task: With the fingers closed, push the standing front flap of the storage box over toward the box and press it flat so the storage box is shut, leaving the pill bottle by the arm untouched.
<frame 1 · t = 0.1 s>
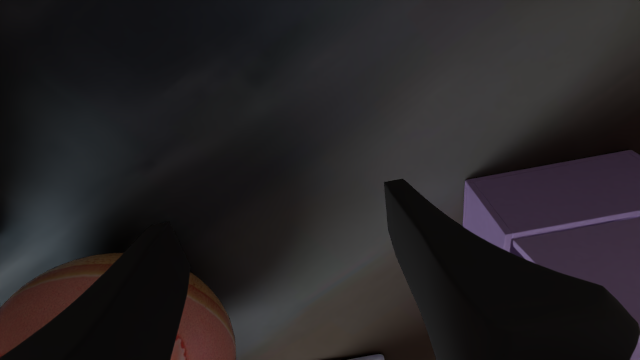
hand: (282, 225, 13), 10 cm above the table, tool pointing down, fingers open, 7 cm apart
vase: (145, 286, 28), on the table, touching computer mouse
storage box: (533, 243, 29), on the table
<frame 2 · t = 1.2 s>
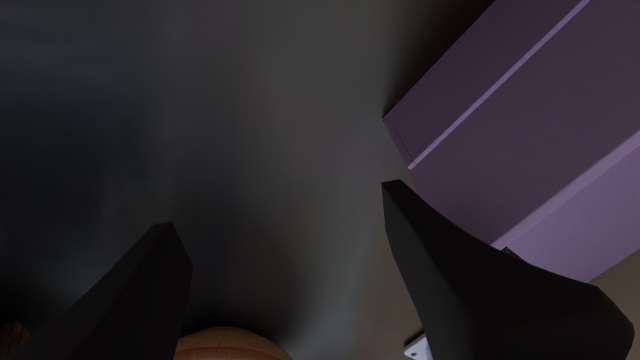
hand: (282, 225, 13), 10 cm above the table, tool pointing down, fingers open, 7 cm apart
flap: (553, 107, 13), point 9 cm above the table, hinge at 97.6°, touching gripper
vase: (226, 348, 33), on the table, touching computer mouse
storage box: (525, 118, 23), on the table
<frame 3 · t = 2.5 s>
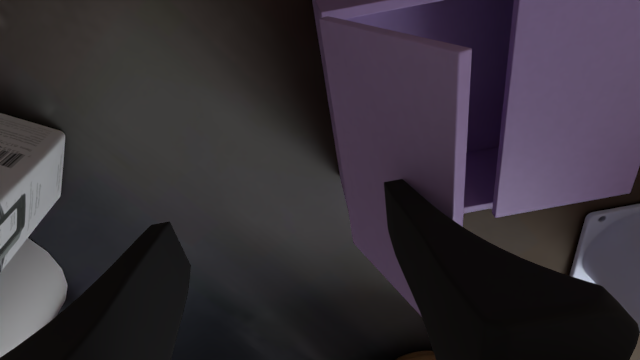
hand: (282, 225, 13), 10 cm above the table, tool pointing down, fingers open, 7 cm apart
flap: (389, 183, 14), point 9 cm above the table, hinge at 68.0°, touching gripper
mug: (4, 282, 27), on the table
storage box: (450, 74, 22), on the table
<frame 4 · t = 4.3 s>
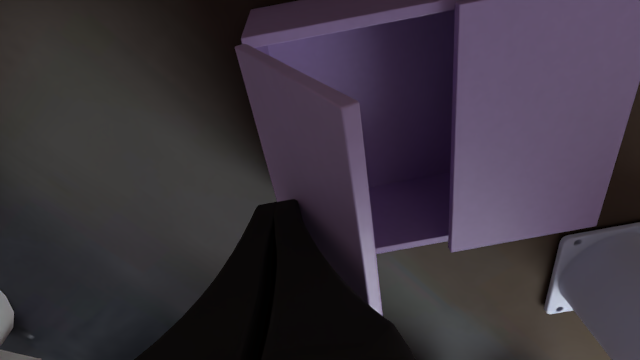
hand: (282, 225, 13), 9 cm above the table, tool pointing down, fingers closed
flap: (315, 229, 13), point 9 cm above the table, hinge at 67.5°, touching gripper
storage box: (407, 95, 20), on the table
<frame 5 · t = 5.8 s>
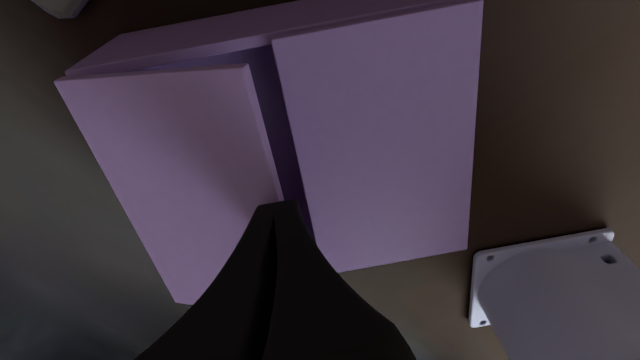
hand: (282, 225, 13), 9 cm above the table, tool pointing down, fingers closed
flap: (201, 214, 14), point 7 cm above the table, hinge at 21.4°
storage box: (294, 116, 20), on the table
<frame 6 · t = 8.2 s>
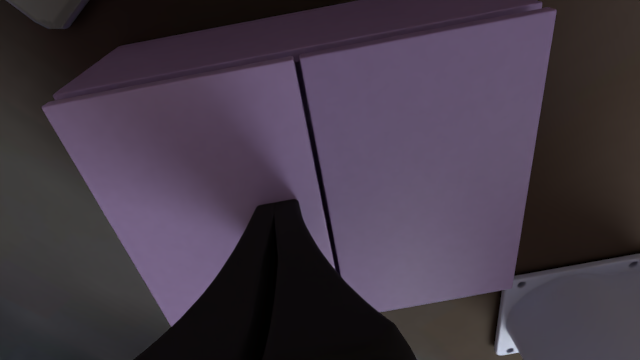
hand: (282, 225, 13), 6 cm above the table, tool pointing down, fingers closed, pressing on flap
flap: (226, 232, 13), point 6 cm above the table, hinge at 0.1°, touching gripper
storage box: (313, 135, 18), on the table
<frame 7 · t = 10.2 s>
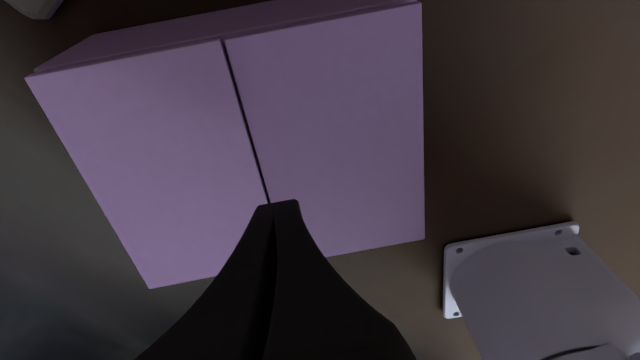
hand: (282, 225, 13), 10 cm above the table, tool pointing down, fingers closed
flap: (178, 184, 16), point 6 cm above the table, hinge at -1.1°
storage box: (264, 112, 21), on the table
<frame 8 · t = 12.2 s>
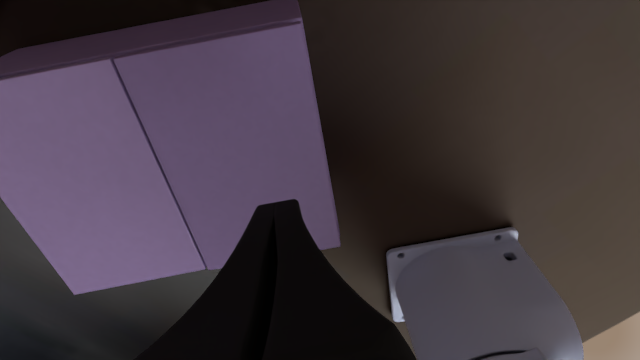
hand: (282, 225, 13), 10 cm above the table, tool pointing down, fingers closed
flap: (90, 194, 17), point 6 cm above the table, hinge at -1.1°
storage box: (193, 123, 22), on the table
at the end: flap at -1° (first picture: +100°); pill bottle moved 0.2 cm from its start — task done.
